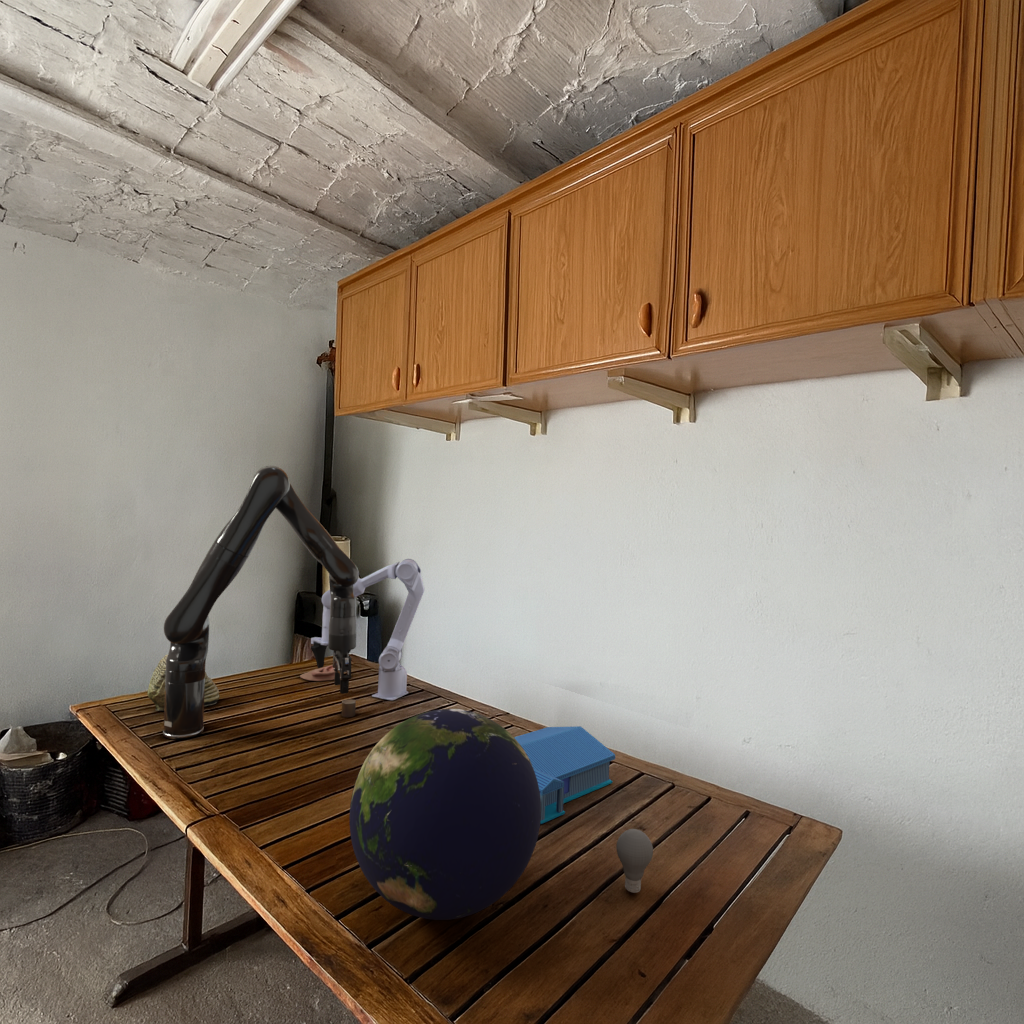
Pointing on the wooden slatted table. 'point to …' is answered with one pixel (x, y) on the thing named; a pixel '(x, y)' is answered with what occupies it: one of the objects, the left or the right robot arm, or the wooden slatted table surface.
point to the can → (348, 708)
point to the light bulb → (634, 857)
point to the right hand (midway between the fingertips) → (330, 669)
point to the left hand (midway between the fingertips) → (341, 688)
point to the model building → (565, 765)
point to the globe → (445, 814)
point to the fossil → (158, 687)
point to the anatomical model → (320, 674)
